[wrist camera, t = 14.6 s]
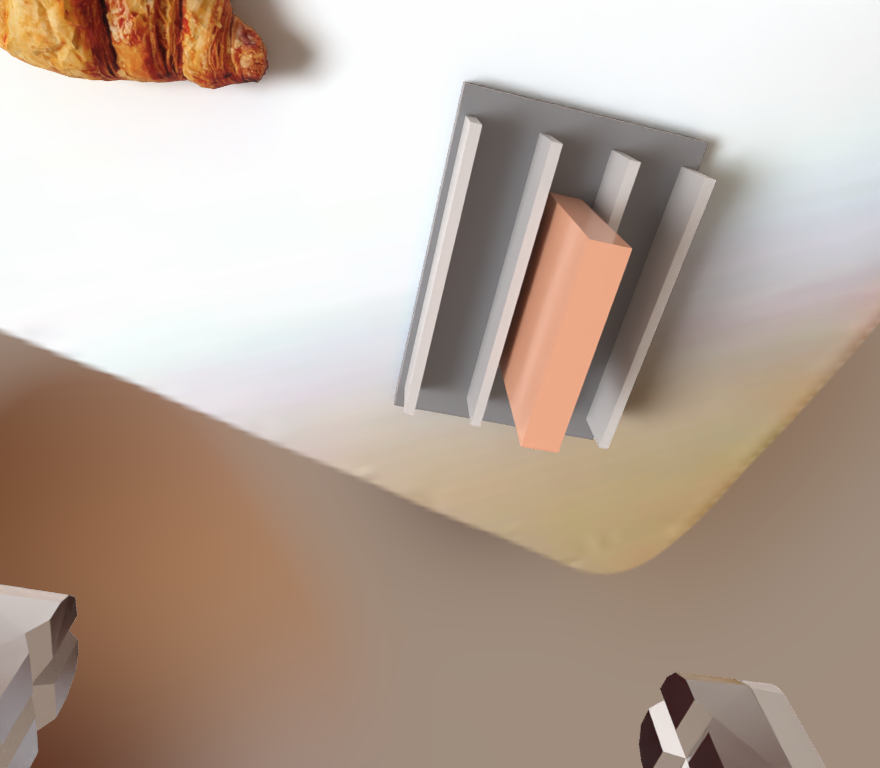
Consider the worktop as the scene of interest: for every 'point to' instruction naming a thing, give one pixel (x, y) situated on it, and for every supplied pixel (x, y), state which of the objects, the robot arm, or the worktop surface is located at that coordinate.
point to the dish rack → (512, 238)
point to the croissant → (135, 40)
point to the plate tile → (559, 318)
